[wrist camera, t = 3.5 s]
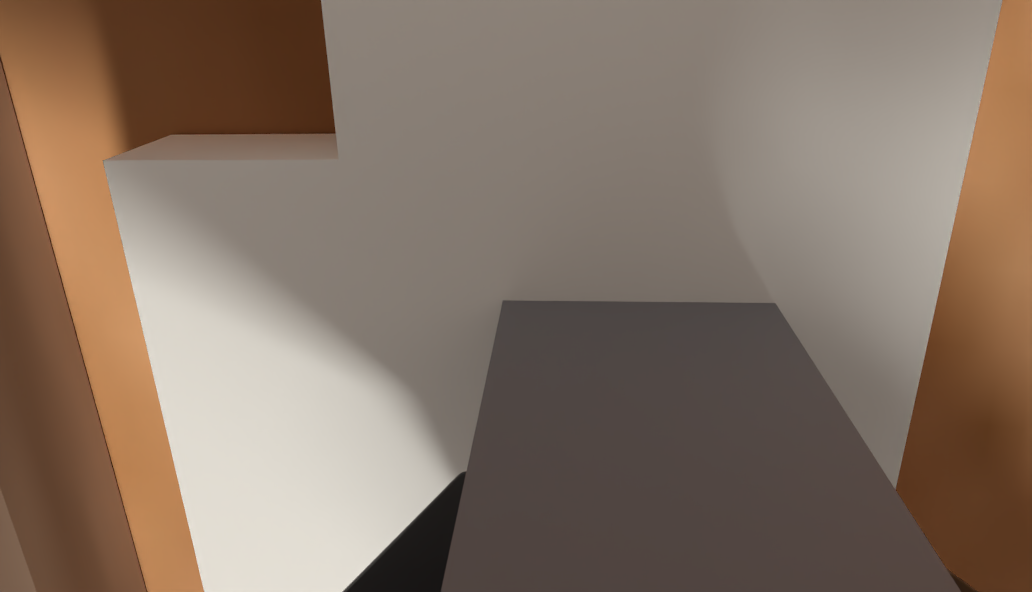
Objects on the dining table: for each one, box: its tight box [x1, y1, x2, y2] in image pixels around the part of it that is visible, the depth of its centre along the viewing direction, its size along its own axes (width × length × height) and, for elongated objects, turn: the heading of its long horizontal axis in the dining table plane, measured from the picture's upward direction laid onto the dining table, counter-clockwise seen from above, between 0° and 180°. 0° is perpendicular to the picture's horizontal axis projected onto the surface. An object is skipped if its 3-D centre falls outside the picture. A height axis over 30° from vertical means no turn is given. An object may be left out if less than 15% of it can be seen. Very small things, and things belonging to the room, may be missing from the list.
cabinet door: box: [103, 0, 1002, 592], centre depth 7 cm, size 9×16×6 cm, turn 1°
